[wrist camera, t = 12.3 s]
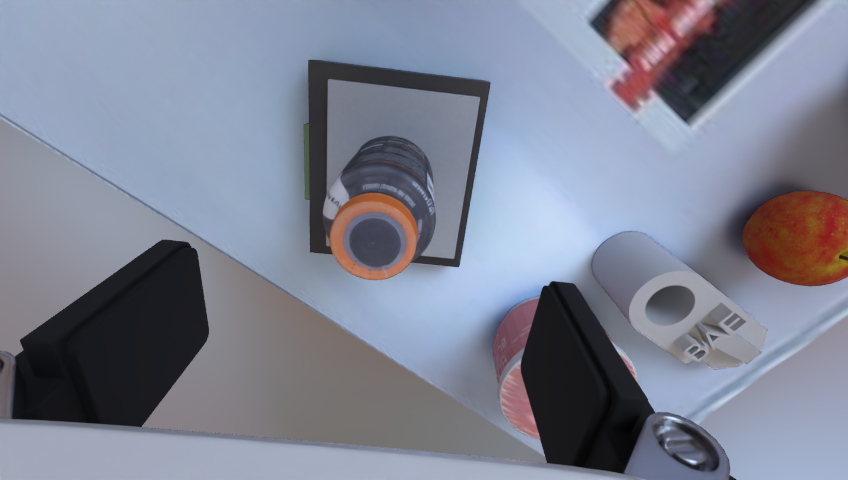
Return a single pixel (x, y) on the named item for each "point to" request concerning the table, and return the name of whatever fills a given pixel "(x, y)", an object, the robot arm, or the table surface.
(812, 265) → the fruit
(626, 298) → the grey hollow cylinder
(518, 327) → the container
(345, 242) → the pill bottle
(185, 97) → the table surface
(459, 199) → the scale
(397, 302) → the table surface
